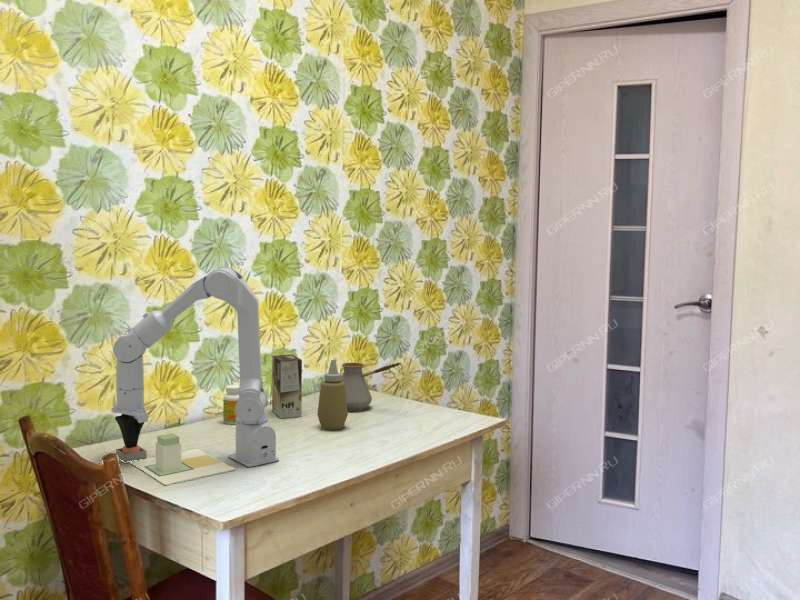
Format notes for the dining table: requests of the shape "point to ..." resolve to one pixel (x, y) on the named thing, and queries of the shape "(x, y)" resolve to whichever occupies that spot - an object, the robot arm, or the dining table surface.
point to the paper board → (185, 467)
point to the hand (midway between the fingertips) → (130, 447)
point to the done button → (131, 449)
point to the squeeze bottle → (332, 400)
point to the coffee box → (286, 386)
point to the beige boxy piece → (168, 452)
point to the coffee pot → (358, 385)
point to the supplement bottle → (230, 404)
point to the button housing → (131, 455)
